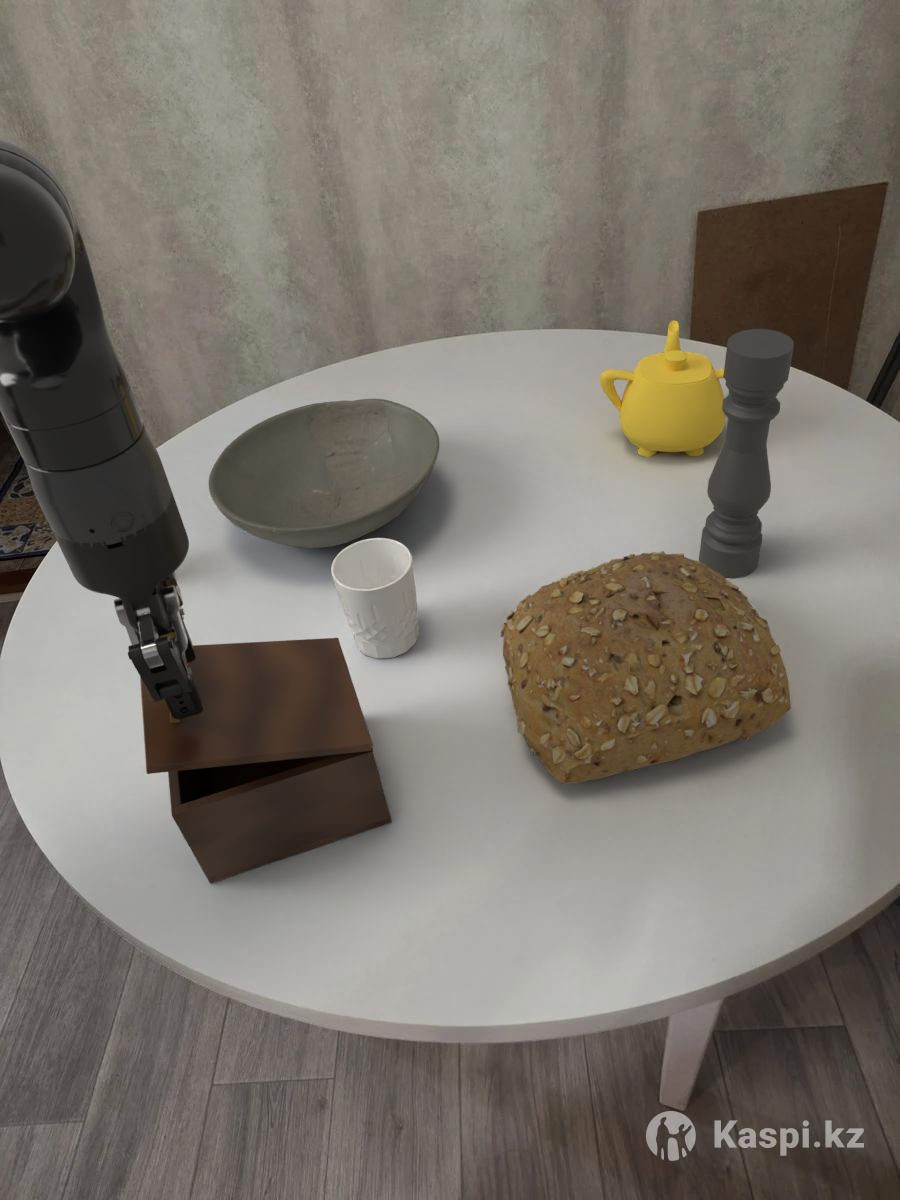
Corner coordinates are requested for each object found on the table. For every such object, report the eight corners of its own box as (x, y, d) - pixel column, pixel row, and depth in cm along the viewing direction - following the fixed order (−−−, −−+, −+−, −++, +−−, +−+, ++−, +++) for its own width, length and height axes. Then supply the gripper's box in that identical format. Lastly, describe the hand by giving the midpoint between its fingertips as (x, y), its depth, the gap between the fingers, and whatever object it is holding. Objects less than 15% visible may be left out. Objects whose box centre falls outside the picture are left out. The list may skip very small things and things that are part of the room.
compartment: (209, 883, 71) (171, 815, 64) (195, 767, 80) (161, 697, 73) (392, 822, 73) (373, 751, 67) (358, 716, 82) (338, 644, 76)
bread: (696, 587, 91) (707, 493, 83) (810, 739, 75) (838, 642, 67) (474, 646, 88) (463, 555, 80) (545, 818, 72) (541, 726, 64)
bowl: (484, 469, 111) (479, 413, 105) (373, 609, 93) (360, 550, 88) (310, 435, 122) (297, 382, 116) (181, 554, 104) (158, 499, 99)
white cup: (437, 619, 91) (425, 546, 84) (403, 671, 86) (388, 598, 79) (372, 603, 94) (356, 531, 87) (336, 653, 89) (315, 580, 82)
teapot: (751, 434, 111) (764, 348, 103) (675, 481, 105) (683, 394, 97) (667, 397, 119) (673, 315, 111) (593, 439, 113) (594, 356, 105)
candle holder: (722, 534, 97) (752, 321, 80) (770, 558, 93) (812, 340, 76) (686, 560, 94) (709, 345, 77) (734, 586, 90) (768, 367, 73)
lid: (146, 774, 61) (145, 718, 57) (138, 655, 70) (137, 601, 67) (371, 751, 67) (382, 699, 63) (337, 644, 76) (345, 593, 73)
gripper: (51, 458, 58) (131, 638, 70) (43, 587, 48) (139, 773, 59) (163, 433, 60) (224, 613, 71) (179, 553, 49) (248, 742, 61)
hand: (185, 685), depth 65 cm, fingers closed on lid, 5 cm apart
